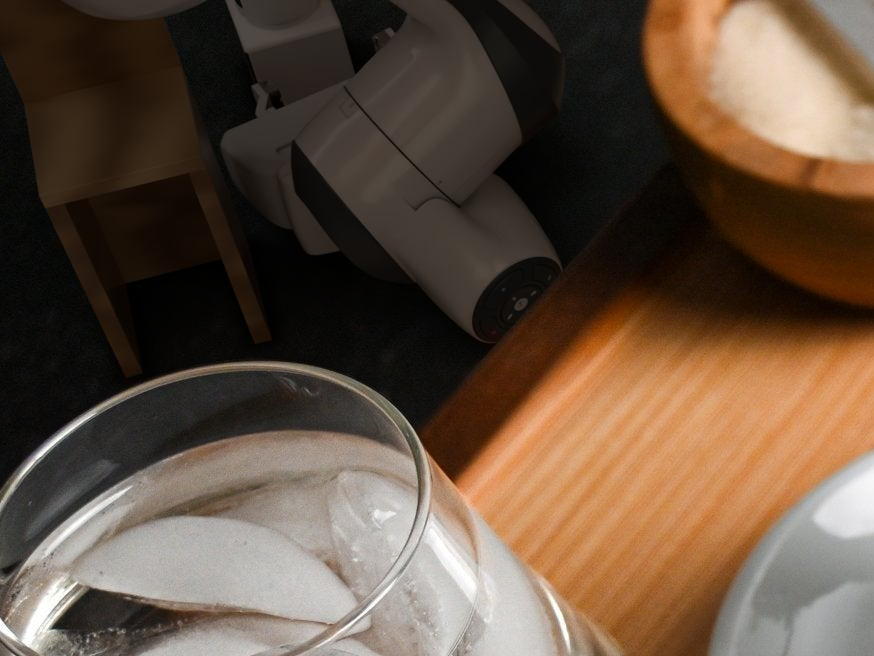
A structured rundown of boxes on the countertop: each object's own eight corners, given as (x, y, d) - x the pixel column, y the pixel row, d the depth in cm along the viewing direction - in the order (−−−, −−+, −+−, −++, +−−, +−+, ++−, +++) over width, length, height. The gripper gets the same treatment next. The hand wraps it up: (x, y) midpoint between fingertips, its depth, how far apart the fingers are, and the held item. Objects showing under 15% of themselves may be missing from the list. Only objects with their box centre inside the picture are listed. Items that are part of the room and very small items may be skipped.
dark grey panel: (251, 76, 147) (202, -68, 137) (341, 50, 148) (299, -94, 138) (271, 132, 144) (223, -11, 133) (364, 105, 145) (323, -39, 134)
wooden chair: (128, 385, 130) (-60, -10, 105) (110, 287, 135) (-73, -112, 110) (274, 347, 131) (123, -52, 106) (251, 252, 137) (101, -151, 111)
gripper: (536, 71, 131) (443, -29, 137) (262, 191, 126) (178, 81, 132) (550, 148, 136) (460, 47, 143) (288, 266, 131) (206, 156, 137)
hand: (322, 64), depth 137 cm, fingers open, 8 cm apart
